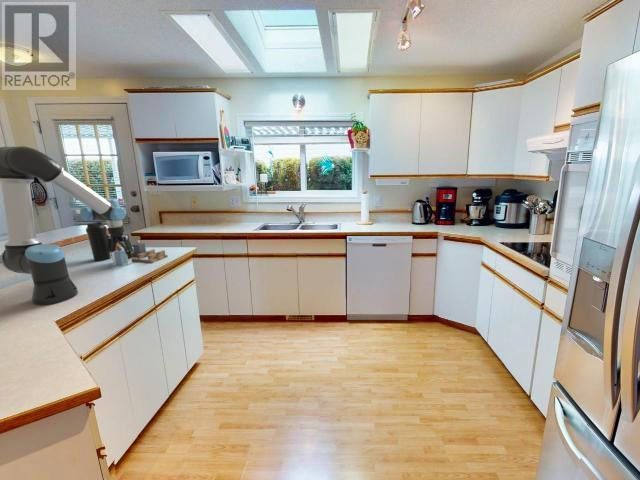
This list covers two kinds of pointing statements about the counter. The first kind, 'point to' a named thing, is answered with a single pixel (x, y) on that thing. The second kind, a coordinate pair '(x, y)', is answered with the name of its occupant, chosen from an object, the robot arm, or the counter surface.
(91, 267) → the counter surface
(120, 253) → the plug blue
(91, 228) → the water bottle
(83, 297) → the counter surface
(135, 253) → the plug charcoal
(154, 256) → the slot rack
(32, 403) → the counter surface
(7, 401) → the counter surface
